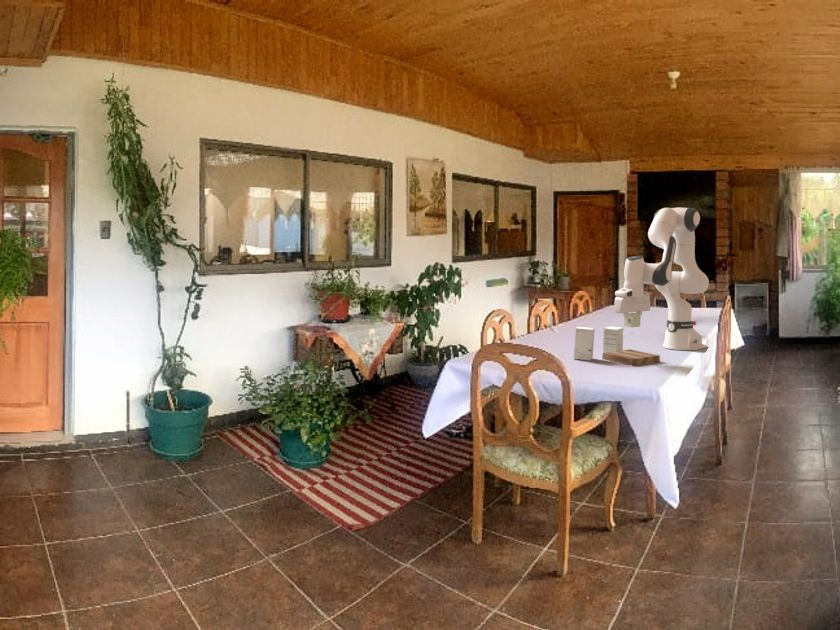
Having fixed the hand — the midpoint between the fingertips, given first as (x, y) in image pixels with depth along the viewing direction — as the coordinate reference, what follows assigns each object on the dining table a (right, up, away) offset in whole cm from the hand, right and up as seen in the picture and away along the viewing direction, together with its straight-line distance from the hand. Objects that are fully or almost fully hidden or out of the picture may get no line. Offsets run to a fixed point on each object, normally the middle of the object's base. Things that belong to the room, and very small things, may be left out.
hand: (632, 321), depth 326 cm
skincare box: (-21, -18, +6) cm, 28 cm away
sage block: (0, -2, 0) cm, 2 cm away
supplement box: (-3, -16, +21) cm, 27 cm away
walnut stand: (0, -18, +2) cm, 18 cm away
